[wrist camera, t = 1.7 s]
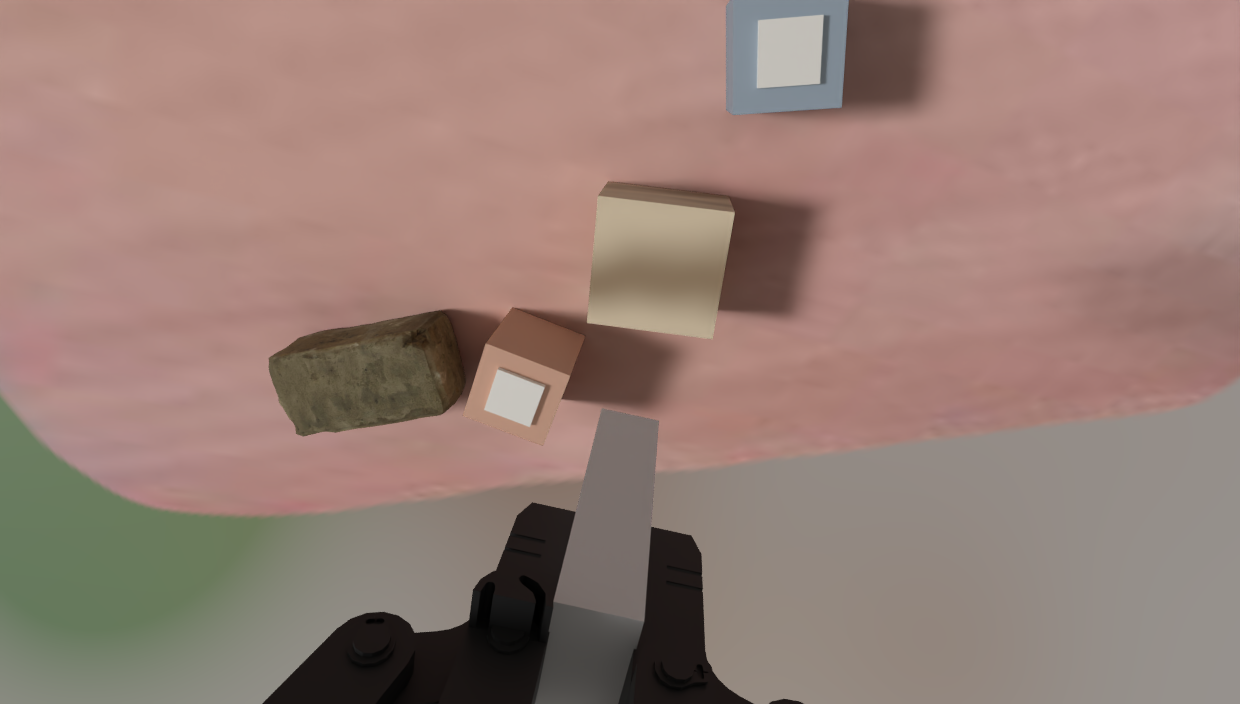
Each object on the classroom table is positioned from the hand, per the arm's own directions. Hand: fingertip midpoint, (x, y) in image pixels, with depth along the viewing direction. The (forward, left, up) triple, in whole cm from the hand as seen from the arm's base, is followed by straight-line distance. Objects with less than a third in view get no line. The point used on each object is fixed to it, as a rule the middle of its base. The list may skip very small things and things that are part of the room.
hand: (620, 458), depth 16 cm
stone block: (+11, -16, -24) cm, 31 cm away
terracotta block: (+9, -6, -23) cm, 25 cm away
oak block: (0, 0, -23) cm, 23 cm away
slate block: (-11, +4, -23) cm, 26 cm away
